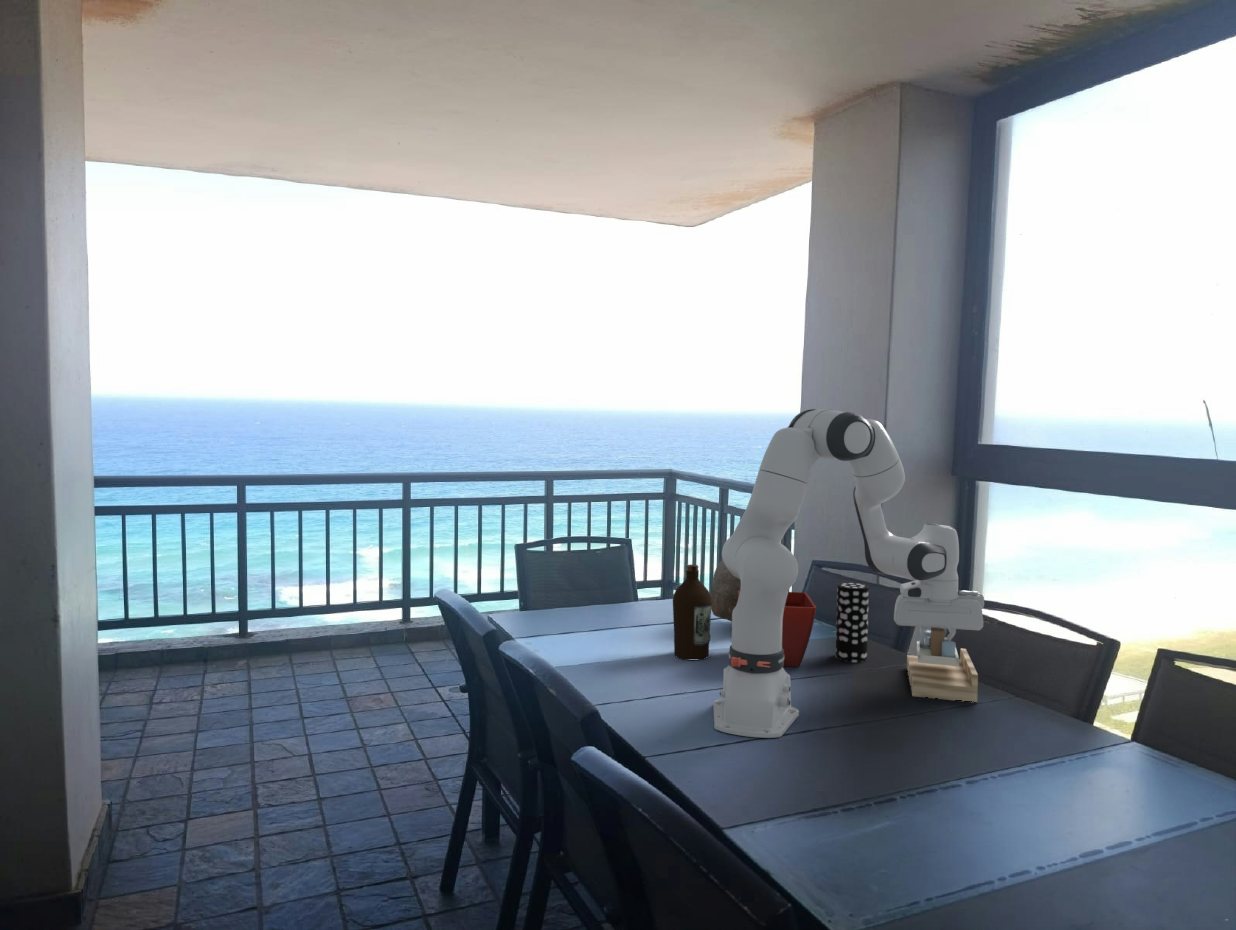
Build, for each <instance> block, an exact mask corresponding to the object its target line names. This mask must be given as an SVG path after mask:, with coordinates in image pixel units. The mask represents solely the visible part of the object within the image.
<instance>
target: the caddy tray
mask: <svg viewBox="0 0 1236 930" xmlns="http://www.w3.org/2000/svg"><path fill="white" fill-rule="evenodd" d="M924 632H925V634H926V635H927V636H930V637H931V645H925V644H924V636H923V634H922V632H921V631H920V630H919V640H916V654H917V655H916V656H917V657H918V663H929V664H939V665H949V666H959V660H960V656H959V654H958V650H957V647H956V646H957V645H956V641H953V640H951V641H947V640H945V641H944V637H945V628H934V627H930V630H929V629H927V631H924Z"/></svg>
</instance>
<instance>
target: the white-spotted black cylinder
mask: <svg viewBox="0 0 1236 930" xmlns="http://www.w3.org/2000/svg"><path fill="white" fill-rule="evenodd" d="M869 598H870V586H869V585H868V584H866V583H860V582H840V583H839V582H838V583H837V584H836V618H835V619H836V621H835V623H836V624H835V628H836V629H835V630H836V631H835V658H836V659H837V660H839V659H840V661H842V660H843V661H842V662H846V663H847V662H848V663H863V662H866V661H868V650H869V649H868V645H869V644H868V643H869V609H870V608H869V606H870V605H869V604H870V599H869Z"/></svg>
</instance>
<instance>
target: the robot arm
mask: <svg viewBox="0 0 1236 930" xmlns="http://www.w3.org/2000/svg"><path fill="white" fill-rule="evenodd" d="M819 459H823V460H830V461H831V460H832V461H838V460H839V461H842V462H847V464H848V466H849V469H850V471H851V474H852V476H853V479H854V483H855V486H854V487H853V492H852V496H853V498H852V499H853V502H854V507H855V512H856V516H857V519H858V523H859V526H860V531H861V534H862V538H863V544H864V558H865V561H866V564H867V566H868V568H869V569H870V570H871V571H873V572H874V573H876V574H879V575H887V576H893V577H899V578H902V579H908V580H913V581H908V582H904V583H901V584H900V585H899V591H900V594H899V595H898V596H897V598H896V601H895V604H894V611H893V621H894V623H896V625H897V626H901V627H905V626H907V627H919V632H920V631H921V632H922V634H923V636H924V644H925V645H931V637H930V636H927V635H926V634H925V632H924V631H927V630H928V629H927V628H931V627H934V628H944V629H948V632H949V633H948V635H947V636H944V641H945V640H947V641H952V639H953V638H954V636H955V635H956V633H957V630H965V631H966V630H967V631H968V630H969V631H981V630H982V629H983V627H984V615H983V609H984V607H985V597H984V596H983V594H981V593H979V591H975V590H971V591H970V590H961V589H959V575H958V565H959V563H960V544H959V543H960V542H959V536H958V532H957V530H956V528H954V527H952V526H950V525H944V524H938V523H931V522H928V523H924V524H923V527H922V529H921V531H920V532H919V533H918V534H916V535H914V536H912V537H910V538H908V537H902V536H897V535H895V534H893V533H891V532H890V531H889V530H888V529H887V524H886V521H885V518H884V517H885V515H884V513H883V509H882V504H883V503H885V502H888V501H889V500H890V499H892V498H894V497H895V496H896V495H897V494H899V493H900V491H901V490H902V488H903V486H904V484H905V481H906V474H905V470H904V465H903V463H902V460H901V458H900V455H899V453H898V451H897V448H896V447H895V444H894V442H893V440H892V438H891V437H890V435H889V433H888V432H887V430H886V429H885V427H884V426H883V425H882V423H881V422H879V421H878V420H876V419H870V418H868V419H867V418H864V417H863V416H862V415H859V414H858V413H855V412H852V411H851V412H850V411H840V410H837V409H832V408H831V409H829V408H825V409H823V408H821V409H815V408H812V409H806V410H803V411H800V412H799V413H798V414H796V415H795V416H794V417H793V418H792V420H791V421H790V423H789V425H788V426H787V427H785V428H780V429H779V430H777V431H775V433H774V434H773V436H772V438H771V440H770V441H769V443H768V445H767V448H766V450H765V452H764V454H763V457H762V459H761V462H760V466H759V469H758V473H757V476H756V479H755V482H754V485H753V489H752V491H751V495H750V498H749V501H748V503H747V505H746V509H745V510H744V513H743V514H742V516H741V518H740V519H739V521H738V523H737V525H736V526H735V529H734V531H733V533H732V535H731V536H730V537H728V539H726V540H725V542H724V544H723V546H722V550H721V556H722V557H721V560H722V559H723V562H724V564H725V565H726V567H727V569H728V570H729V572H730V573H731V574H732V575H733V576H735V577H737V578H738V579H740V581H741V588H740V593H739V598H738V602H737V605H736V607H735V608H734V609H733V612H732V622H731V645H730V646H729V651H728V665H727V666H726V667H724V668H723V688H722V690H720V691H719V697H721V698H718V699H715V700H713V704H712V705H713V706H712V707H713V709H712V710H713V711H712V713H713V727H714V728H713V729H715V730H717V731H720V732H722V733H727V734H731V735H737V736H743V737H749V738H750V737H751V738H762V739H763V738H764V739H765V738H766V739H771V738H772V739H773V738H781V737H782V736H783V735H784V734H785V733H786V731H787V730H788V729H789V728H790V727H791V725H792V724H793V723H794V722H795V720H797V718H798V717H799V715H800V714H799V713H800V711H799V709H798V708H796V707H794V706H792V701H791V699H792V698H791V697H792V695H791V693H792V692H791V676H790V674H789V673H788V672H787V671H786V670H785V668H784V667H785V666H784V649H783V648H782V626H783V613H784V607H785V603H786V599H787V595H788V592H790V589H791V587H793V585H794V584H795V582H796V581H797V579H798V575H799V562H798V560H797V558H796V557H795V555H794V554H793V552H791V550H790V549H788V548H787V546H785V545H784V544H782V543H781V541H782V540H783V538H784V536H785V534H786V533H787V531H788V529H789V528H790V527H791V525H792V524H793V523H794V522H796V521H797V519H798V517H799V516H800V511H801V508H802V505H803V503H804V498H805V496H806V492H807V489H808V484H809V482H810V477H811V474H812V470H813V466H814V465H815V464H816V462H818V460H819Z"/></svg>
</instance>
